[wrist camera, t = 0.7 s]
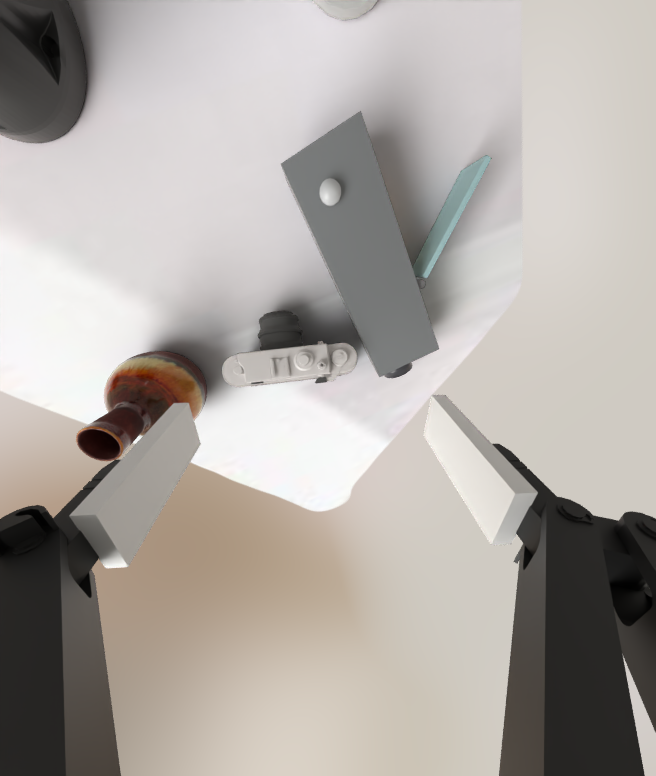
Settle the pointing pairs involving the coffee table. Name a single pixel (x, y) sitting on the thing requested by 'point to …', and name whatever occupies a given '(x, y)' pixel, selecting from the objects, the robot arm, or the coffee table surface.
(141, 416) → the vase
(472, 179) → the side door
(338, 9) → the cup
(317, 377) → the camera
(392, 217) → the long gray box
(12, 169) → the coffee table surface
